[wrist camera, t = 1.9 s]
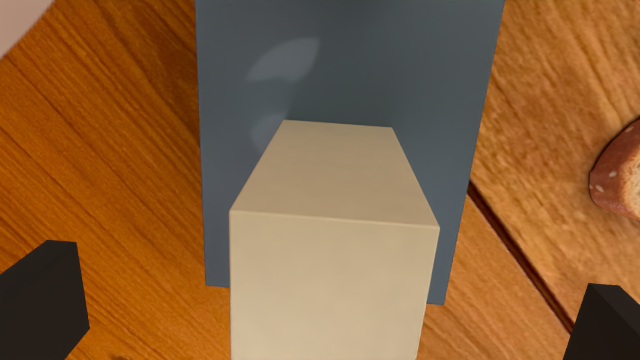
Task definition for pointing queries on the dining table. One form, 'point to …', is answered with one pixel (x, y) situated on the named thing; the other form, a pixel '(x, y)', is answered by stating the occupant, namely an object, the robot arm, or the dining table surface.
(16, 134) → the dining table surface
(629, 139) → the bread slice
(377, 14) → the chest lid
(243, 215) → the block
